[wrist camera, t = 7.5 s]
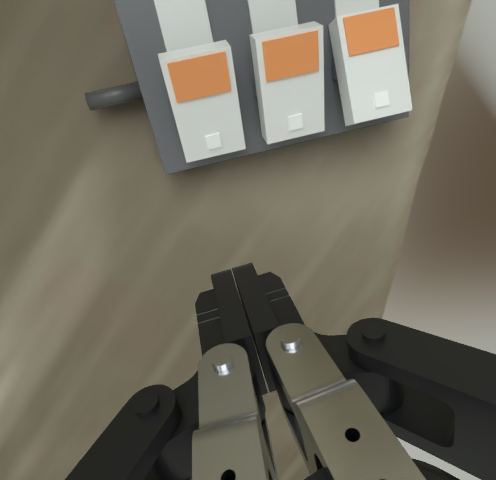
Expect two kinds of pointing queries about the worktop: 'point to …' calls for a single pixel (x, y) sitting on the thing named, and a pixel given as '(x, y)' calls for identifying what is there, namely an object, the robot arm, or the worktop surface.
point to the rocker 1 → (204, 99)
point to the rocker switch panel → (237, 35)
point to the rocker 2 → (370, 64)
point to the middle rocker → (289, 80)
